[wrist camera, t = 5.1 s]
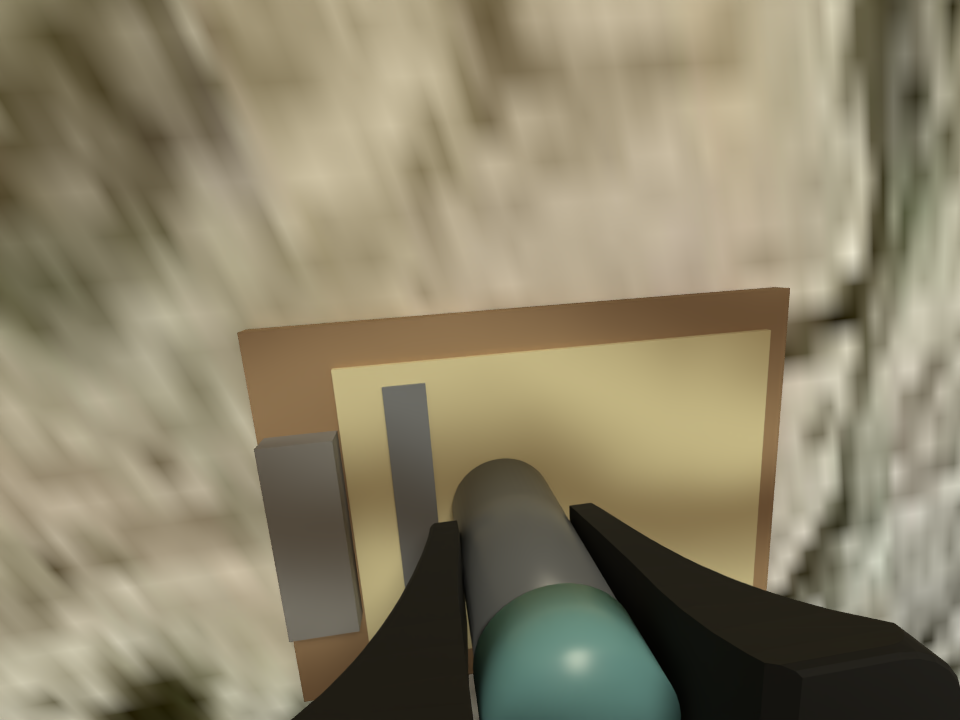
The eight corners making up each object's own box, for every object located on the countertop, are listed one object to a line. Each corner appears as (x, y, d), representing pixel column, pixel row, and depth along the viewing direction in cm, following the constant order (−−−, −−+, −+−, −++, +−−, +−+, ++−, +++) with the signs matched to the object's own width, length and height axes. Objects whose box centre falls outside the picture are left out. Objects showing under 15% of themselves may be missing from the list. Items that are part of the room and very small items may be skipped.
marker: (557, 539, 14) (685, 789, 7) (459, 560, 14) (499, 841, 7) (546, 447, 14) (676, 631, 7) (442, 467, 13) (470, 681, 6)
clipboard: (752, 612, 17) (780, 642, 16) (309, 685, 15) (297, 726, 14) (775, 287, 14) (812, 289, 13) (246, 329, 13) (224, 337, 11)
